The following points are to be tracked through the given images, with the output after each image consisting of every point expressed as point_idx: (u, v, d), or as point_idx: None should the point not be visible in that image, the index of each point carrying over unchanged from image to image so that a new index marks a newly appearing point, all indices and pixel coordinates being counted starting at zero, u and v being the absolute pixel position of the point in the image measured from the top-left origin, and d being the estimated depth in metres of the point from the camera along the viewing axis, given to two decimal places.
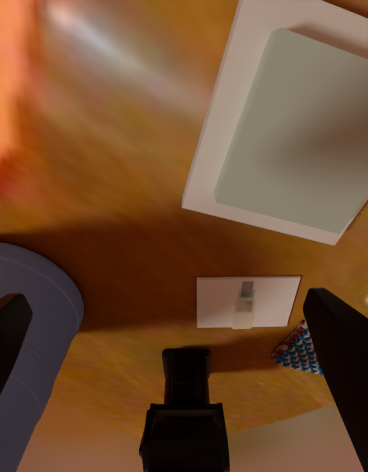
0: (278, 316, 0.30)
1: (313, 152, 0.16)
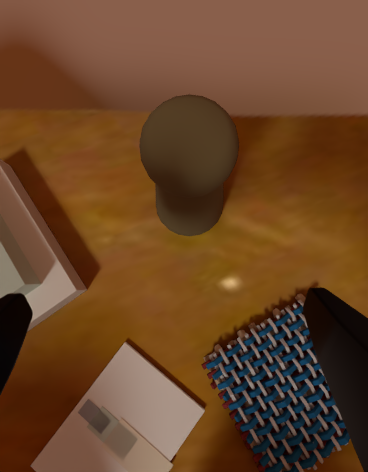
0: (175, 408, 0.19)
1: None
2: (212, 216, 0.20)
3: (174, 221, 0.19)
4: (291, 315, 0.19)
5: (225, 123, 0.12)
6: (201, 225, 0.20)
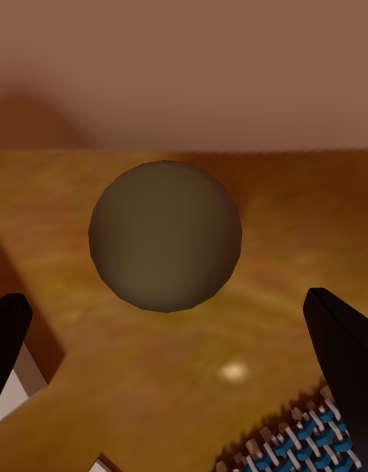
0: None
1: None
2: None
3: None
4: (317, 423, 0.14)
5: (219, 209, 0.07)
6: None
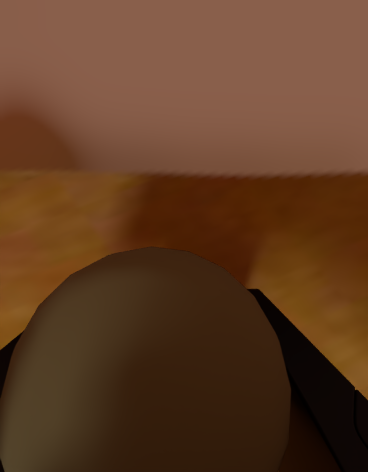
0: None
1: None
2: None
3: None
4: None
5: (254, 379, 0.04)
6: None
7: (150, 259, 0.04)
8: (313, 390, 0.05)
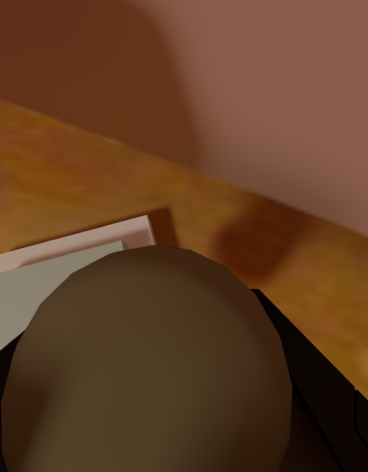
0: None
1: None
2: None
3: None
4: None
5: (256, 376, 0.04)
6: None
7: (152, 257, 0.04)
8: (313, 390, 0.05)
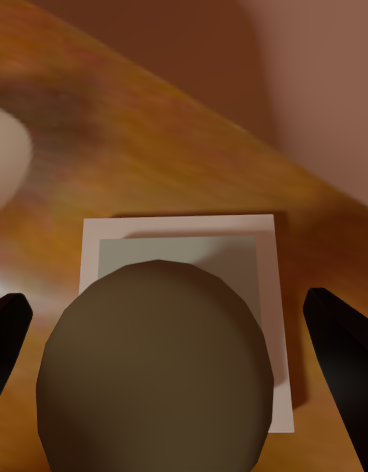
0: None
1: None
2: None
3: None
4: None
5: (243, 370, 0.05)
6: None
7: (158, 272, 0.05)
8: None
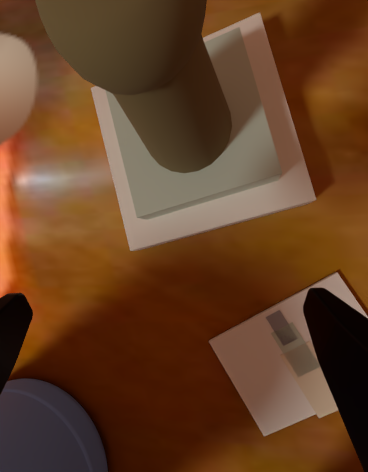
0: None
1: None
2: (216, 129, 0.14)
3: (168, 154, 0.14)
4: None
5: None
6: (206, 148, 0.14)
7: None
8: None
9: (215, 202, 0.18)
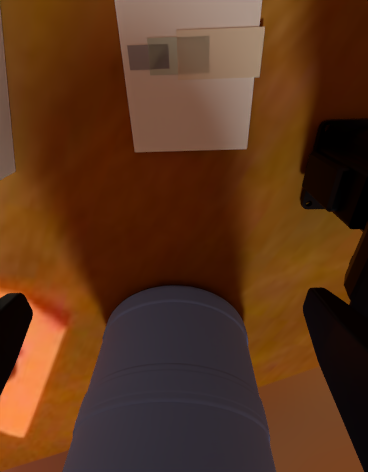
0: None
1: None
2: None
3: None
4: None
5: None
6: None
7: None
8: None
9: None
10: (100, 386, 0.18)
